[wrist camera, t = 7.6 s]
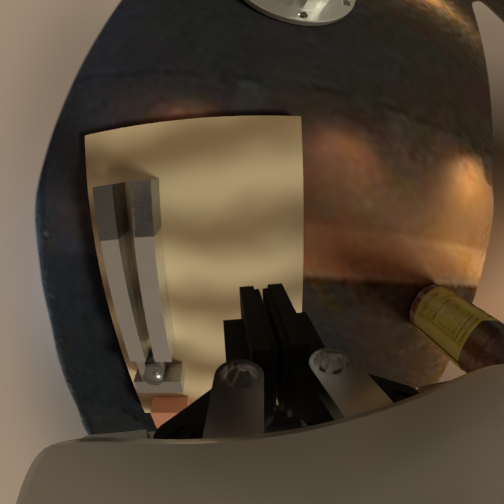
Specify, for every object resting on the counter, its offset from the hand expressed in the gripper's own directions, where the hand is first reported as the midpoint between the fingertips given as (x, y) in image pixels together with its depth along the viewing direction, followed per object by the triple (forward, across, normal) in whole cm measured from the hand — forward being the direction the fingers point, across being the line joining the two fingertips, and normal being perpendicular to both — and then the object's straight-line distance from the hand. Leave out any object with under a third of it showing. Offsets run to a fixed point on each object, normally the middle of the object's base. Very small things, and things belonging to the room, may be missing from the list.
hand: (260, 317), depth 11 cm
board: (+14, +3, +6) cm, 15 cm away
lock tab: (+12, +8, +19) cm, 24 cm away
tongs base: (+12, +9, +4) cm, 16 cm away
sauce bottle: (+14, -23, +11) cm, 29 cm away
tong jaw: (+12, +7, +3) cm, 14 cm away
